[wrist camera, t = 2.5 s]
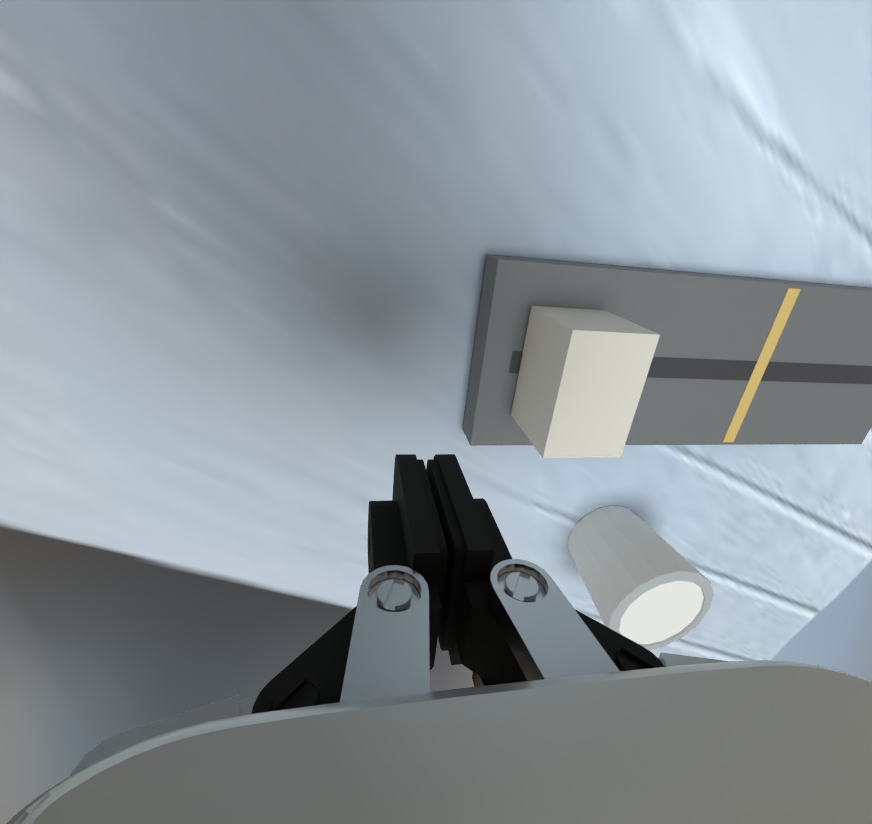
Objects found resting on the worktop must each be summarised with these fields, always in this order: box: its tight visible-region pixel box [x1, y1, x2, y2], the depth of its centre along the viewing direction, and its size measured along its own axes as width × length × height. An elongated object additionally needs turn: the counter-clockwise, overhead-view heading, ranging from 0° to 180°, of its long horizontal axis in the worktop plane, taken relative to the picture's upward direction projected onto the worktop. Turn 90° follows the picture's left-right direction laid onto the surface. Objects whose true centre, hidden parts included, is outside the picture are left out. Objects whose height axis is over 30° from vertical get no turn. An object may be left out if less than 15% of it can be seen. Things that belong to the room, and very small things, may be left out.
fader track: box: [462, 254, 872, 445], centre depth 26 cm, size 28×10×2 cm, turn 84°
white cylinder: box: [568, 505, 713, 650], centre depth 30 cm, size 7×7×7 cm
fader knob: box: [511, 306, 660, 458], centre depth 21 cm, size 4×6×4 cm, turn 174°
